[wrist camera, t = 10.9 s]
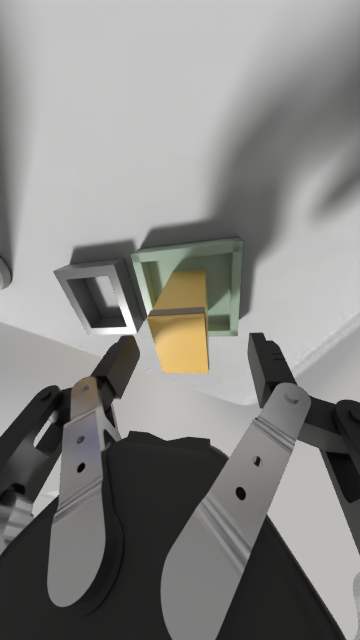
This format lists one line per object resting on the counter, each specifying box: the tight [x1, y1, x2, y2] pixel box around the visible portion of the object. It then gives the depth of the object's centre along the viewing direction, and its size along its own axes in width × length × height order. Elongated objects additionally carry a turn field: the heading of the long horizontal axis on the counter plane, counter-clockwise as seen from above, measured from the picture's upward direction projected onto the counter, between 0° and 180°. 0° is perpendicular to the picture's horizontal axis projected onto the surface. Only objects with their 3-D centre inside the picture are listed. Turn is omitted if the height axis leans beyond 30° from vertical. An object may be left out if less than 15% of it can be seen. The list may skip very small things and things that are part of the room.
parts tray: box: [130, 237, 243, 337], centre depth 19 cm, size 10×10×2 cm
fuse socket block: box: [53, 258, 143, 335], centre depth 20 cm, size 7×8×2 cm
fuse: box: [147, 269, 209, 373], centre depth 15 cm, size 4×5×9 cm
